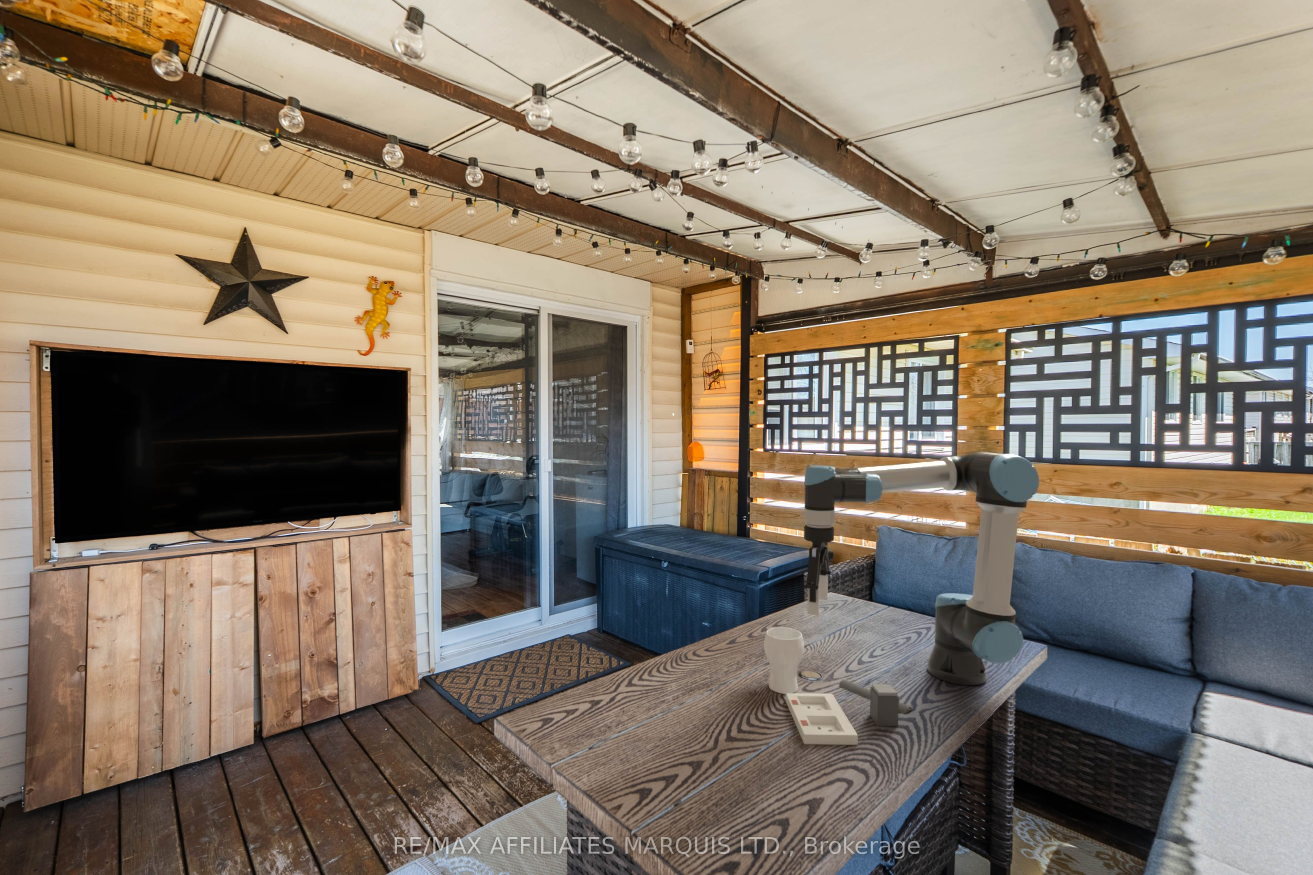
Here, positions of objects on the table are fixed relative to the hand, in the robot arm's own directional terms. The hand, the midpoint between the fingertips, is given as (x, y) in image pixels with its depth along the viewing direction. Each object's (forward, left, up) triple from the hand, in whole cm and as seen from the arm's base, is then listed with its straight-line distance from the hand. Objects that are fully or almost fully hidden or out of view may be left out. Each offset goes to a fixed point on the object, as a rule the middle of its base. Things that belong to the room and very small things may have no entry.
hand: (817, 606), depth 153 cm
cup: (+7, -7, -25) cm, 27 cm away
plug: (-14, +10, -25) cm, 30 cm away
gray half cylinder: (-16, -2, -25) cm, 30 cm away
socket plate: (+2, +11, -25) cm, 27 cm away
